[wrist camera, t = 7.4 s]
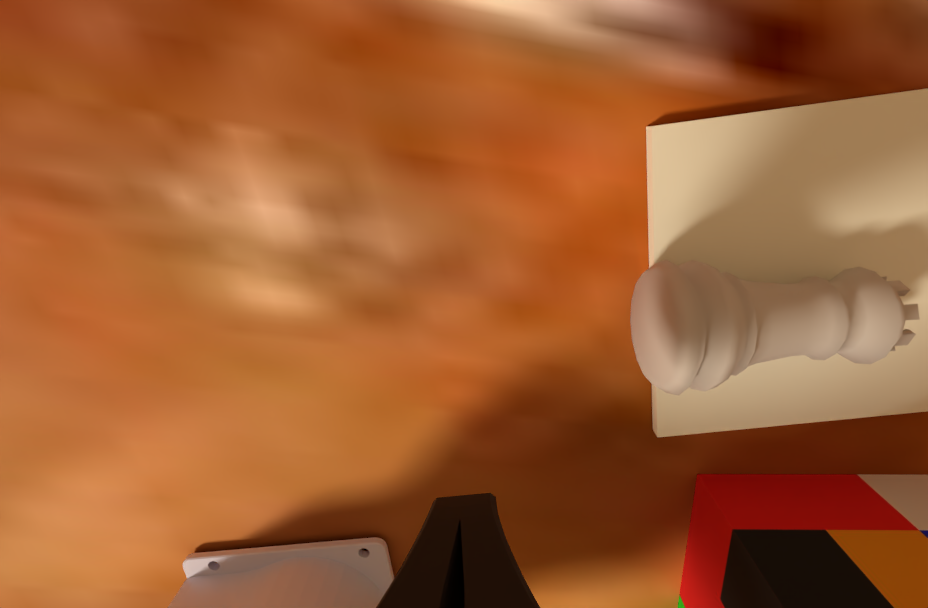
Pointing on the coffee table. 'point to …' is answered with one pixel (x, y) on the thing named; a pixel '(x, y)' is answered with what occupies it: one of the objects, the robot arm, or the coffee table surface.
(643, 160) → the coffee table surface
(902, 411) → the paper sticky note
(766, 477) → the puzzle toy
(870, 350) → the rook chess piece
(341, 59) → the coffee table surface
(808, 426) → the coffee table surface
